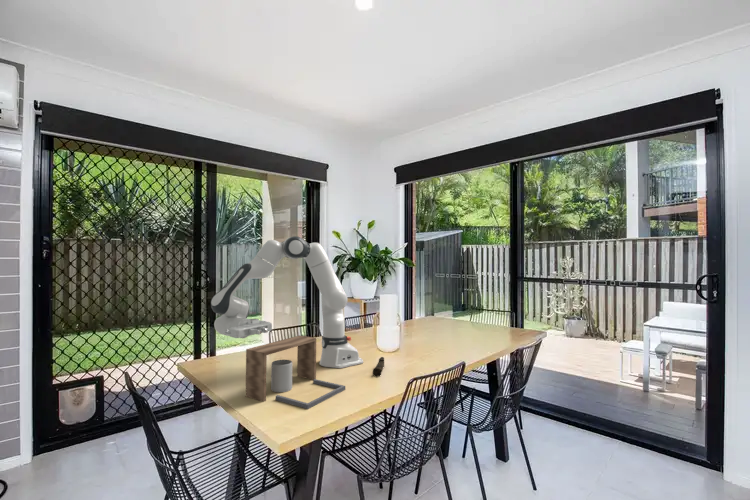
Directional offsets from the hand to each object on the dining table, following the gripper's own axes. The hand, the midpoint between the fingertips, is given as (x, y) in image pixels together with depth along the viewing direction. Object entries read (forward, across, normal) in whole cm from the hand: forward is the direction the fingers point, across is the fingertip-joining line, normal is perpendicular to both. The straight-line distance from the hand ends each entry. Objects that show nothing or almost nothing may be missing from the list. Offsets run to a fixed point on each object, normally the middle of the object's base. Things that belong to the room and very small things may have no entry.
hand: (263, 331), depth 164 cm
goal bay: (+27, 0, +22) cm, 35 cm away
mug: (+12, 0, +22) cm, 25 cm away
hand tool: (+34, +42, +22) cm, 58 cm away
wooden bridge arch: (+12, 0, +22) cm, 25 cm away
